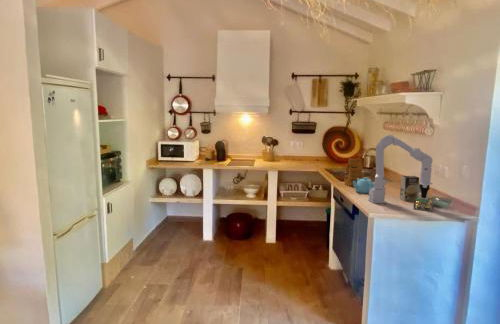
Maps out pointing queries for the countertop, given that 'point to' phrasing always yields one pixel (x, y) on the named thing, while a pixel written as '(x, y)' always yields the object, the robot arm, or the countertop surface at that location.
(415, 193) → the coffee box
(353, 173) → the coffee package
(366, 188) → the teapot
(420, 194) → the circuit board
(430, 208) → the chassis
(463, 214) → the countertop surface
